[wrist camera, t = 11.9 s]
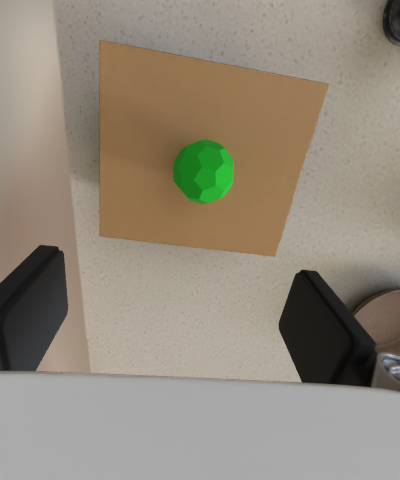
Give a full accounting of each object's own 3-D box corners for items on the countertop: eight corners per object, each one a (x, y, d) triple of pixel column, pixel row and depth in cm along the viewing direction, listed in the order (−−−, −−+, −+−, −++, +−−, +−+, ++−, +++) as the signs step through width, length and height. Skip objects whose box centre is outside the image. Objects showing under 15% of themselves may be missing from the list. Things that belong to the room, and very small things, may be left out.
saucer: (452, 296, 41) (468, 308, 39) (387, 361, 47) (398, 375, 44) (376, 264, 38) (388, 275, 36) (316, 338, 44) (324, 351, 41)
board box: (116, 211, 33) (99, 236, 27) (120, 57, 26) (99, 39, 20) (259, 229, 35) (275, 256, 29) (296, 90, 28) (329, 83, 22)
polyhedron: (172, 138, 23) (169, 144, 19) (230, 135, 23) (240, 141, 19) (176, 195, 25) (174, 213, 21) (229, 193, 25) (238, 209, 21)
